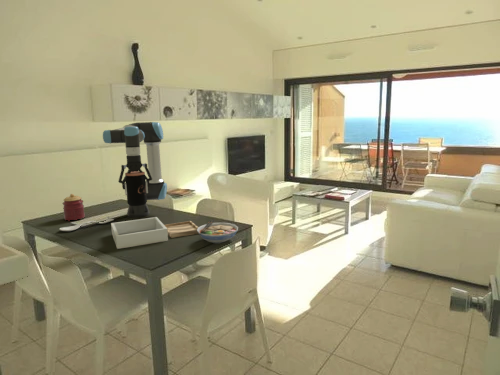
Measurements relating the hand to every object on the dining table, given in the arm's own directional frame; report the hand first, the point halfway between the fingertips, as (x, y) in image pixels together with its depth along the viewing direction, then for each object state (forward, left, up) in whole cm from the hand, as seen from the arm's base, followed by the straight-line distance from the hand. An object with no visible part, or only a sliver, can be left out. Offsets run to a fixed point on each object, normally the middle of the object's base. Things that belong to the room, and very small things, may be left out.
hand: (136, 193), depth 206 cm
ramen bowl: (+28, +37, -26) cm, 54 cm away
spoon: (-38, -27, -26) cm, 53 cm away
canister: (-63, -34, -26) cm, 76 cm away
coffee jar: (0, 0, -6) cm, 6 cm away
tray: (0, +24, -26) cm, 36 cm away
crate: (0, -1, -26) cm, 26 cm away
